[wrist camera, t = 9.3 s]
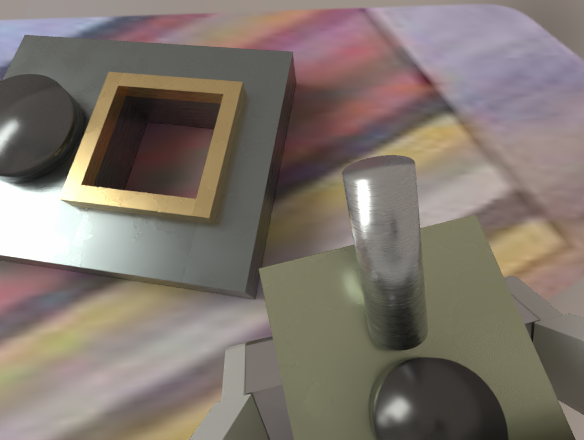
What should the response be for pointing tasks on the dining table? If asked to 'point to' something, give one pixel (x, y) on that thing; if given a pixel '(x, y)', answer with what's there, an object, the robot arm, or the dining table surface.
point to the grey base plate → (121, 153)
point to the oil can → (405, 328)
